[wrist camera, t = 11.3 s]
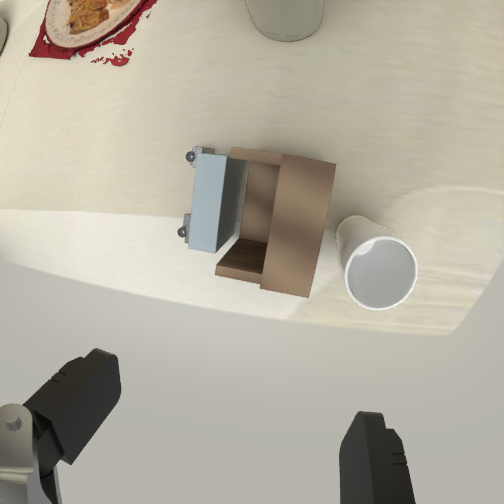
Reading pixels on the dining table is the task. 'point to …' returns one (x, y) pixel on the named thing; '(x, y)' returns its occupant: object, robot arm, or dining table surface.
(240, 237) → the cabinet
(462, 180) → the dining table surface
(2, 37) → the canister
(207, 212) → the door
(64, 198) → the dining table surface
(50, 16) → the plate with food
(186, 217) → the hinge clips
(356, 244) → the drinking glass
